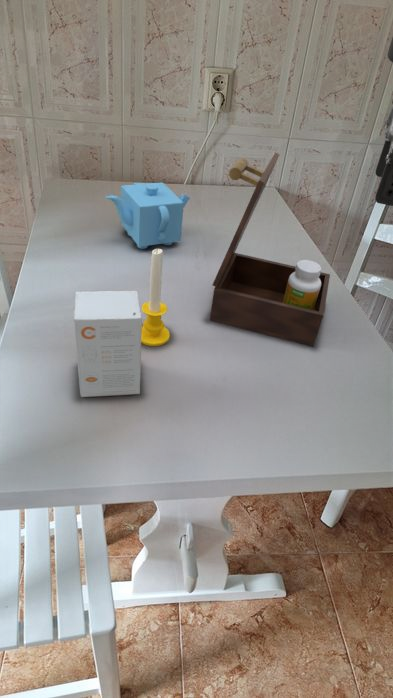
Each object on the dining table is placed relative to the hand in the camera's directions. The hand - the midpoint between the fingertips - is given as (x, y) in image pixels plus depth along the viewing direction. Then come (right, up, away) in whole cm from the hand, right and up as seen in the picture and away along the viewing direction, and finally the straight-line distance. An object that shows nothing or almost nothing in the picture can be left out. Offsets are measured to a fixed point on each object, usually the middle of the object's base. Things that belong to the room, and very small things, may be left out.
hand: (384, 189), depth 52 cm
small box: (-32, -22, +17) cm, 42 cm away
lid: (-12, +3, +25) cm, 28 cm away
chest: (-8, -11, +34) cm, 36 cm away
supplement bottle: (-3, -11, +33) cm, 35 cm away
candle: (-27, -15, +26) cm, 40 cm away
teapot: (-31, +6, +51) cm, 60 cm away
